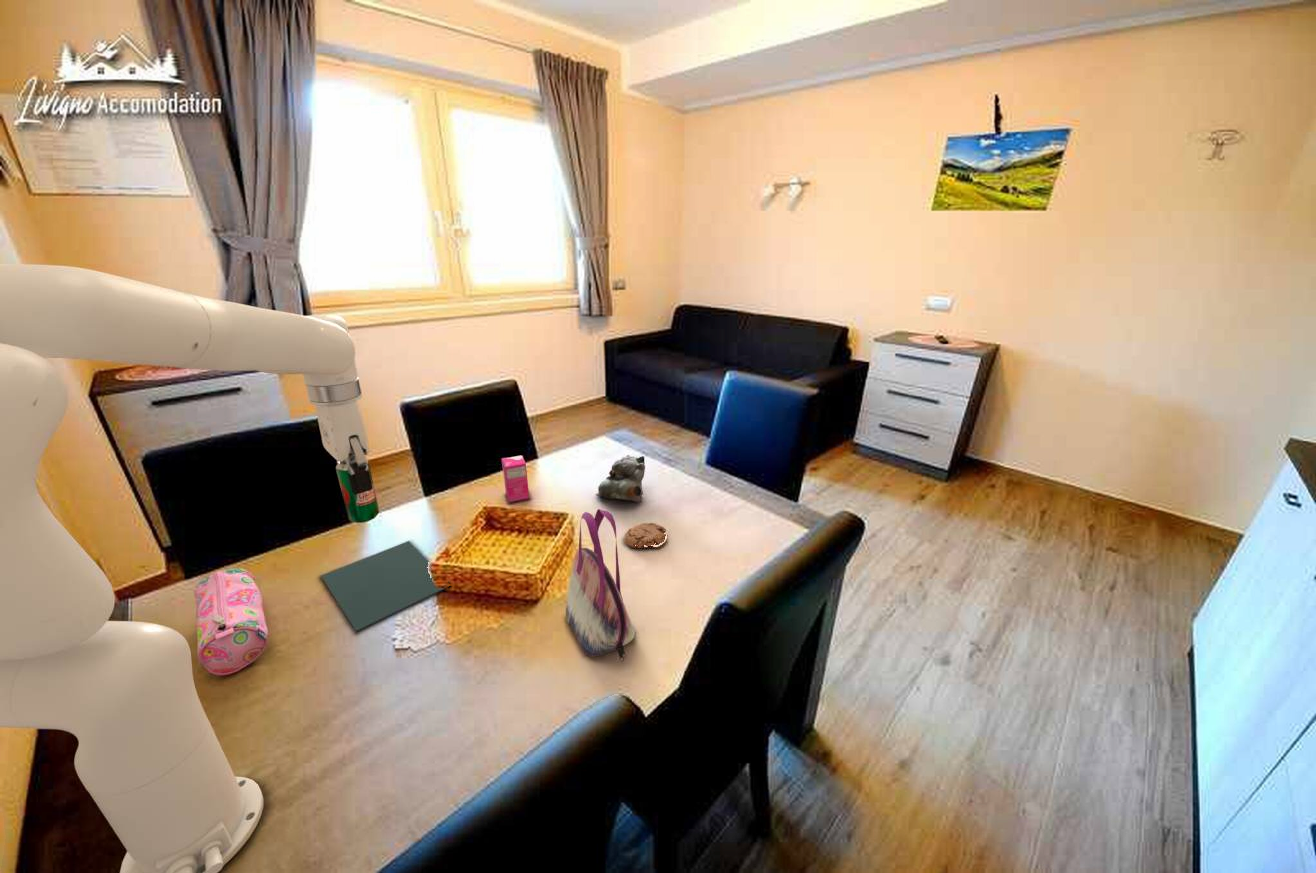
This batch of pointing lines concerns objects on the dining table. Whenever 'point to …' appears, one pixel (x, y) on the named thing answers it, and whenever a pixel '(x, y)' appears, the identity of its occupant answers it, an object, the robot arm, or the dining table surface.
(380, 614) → the place mat
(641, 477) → the lucky cat figurine
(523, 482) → the supplement box
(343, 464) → the soda can
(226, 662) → the pencil case
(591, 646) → the handbag
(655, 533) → the cookie
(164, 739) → the robot arm
